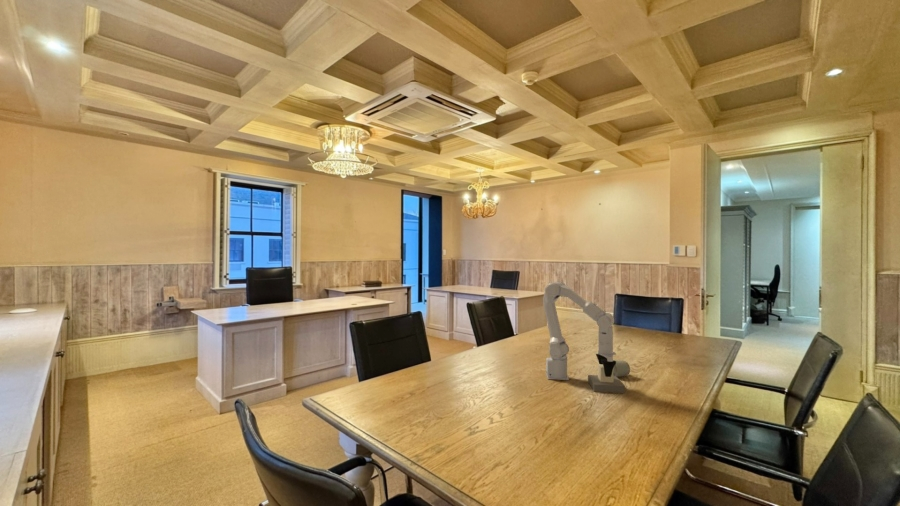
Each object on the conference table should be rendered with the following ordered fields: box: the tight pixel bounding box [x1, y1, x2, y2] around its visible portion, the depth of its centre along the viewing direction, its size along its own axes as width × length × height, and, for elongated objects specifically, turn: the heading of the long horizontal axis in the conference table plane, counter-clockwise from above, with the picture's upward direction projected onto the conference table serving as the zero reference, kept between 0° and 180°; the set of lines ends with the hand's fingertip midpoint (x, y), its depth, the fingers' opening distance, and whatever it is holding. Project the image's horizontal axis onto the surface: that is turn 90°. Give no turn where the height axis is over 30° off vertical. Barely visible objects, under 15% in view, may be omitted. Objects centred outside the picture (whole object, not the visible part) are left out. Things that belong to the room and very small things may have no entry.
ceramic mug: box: [613, 359, 631, 378], centre depth 173 cm, size 11×8×8 cm
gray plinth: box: [587, 374, 626, 394], centre depth 157 cm, size 12×12×3 cm
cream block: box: [597, 364, 613, 382], centre depth 157 cm, size 5×5×6 cm
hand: (605, 373), depth 157 cm, fingers open, 7 cm apart
